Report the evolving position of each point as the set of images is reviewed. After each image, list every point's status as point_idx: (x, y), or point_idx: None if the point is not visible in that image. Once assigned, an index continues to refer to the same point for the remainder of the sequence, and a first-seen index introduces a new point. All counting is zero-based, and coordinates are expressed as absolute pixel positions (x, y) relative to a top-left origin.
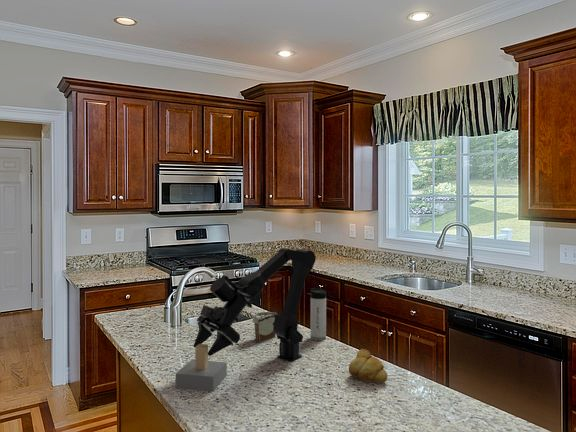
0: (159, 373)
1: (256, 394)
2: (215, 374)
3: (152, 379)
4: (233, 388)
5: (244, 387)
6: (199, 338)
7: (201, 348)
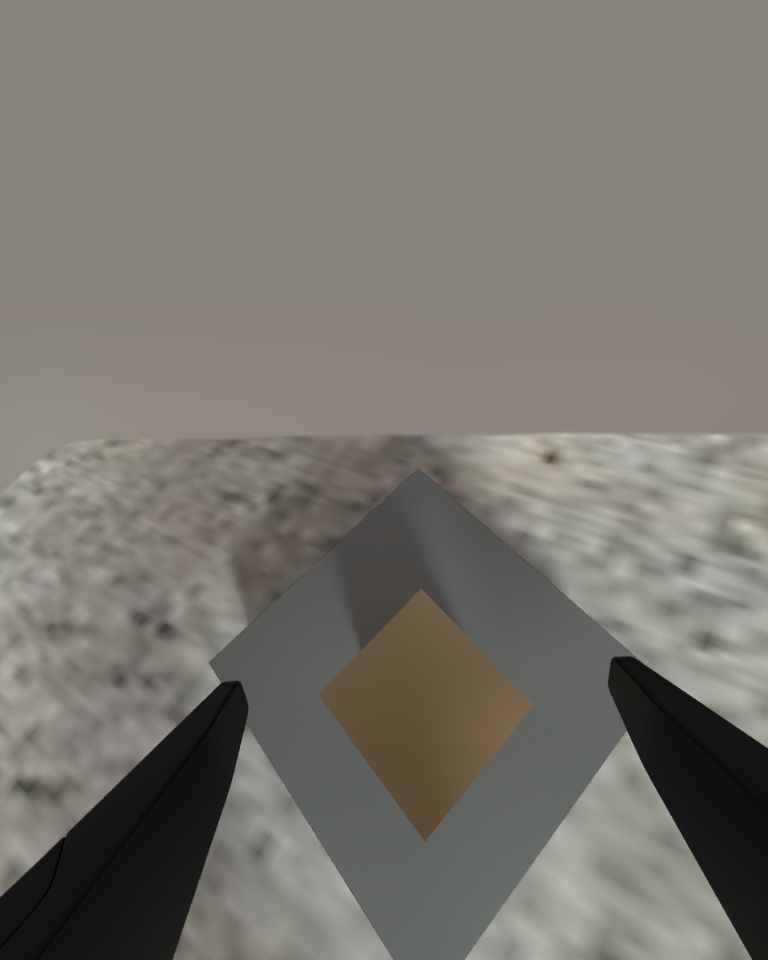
0: (669, 490)
1: None
2: None
3: (587, 438)
4: None
5: None
6: (739, 816)
7: (356, 656)
